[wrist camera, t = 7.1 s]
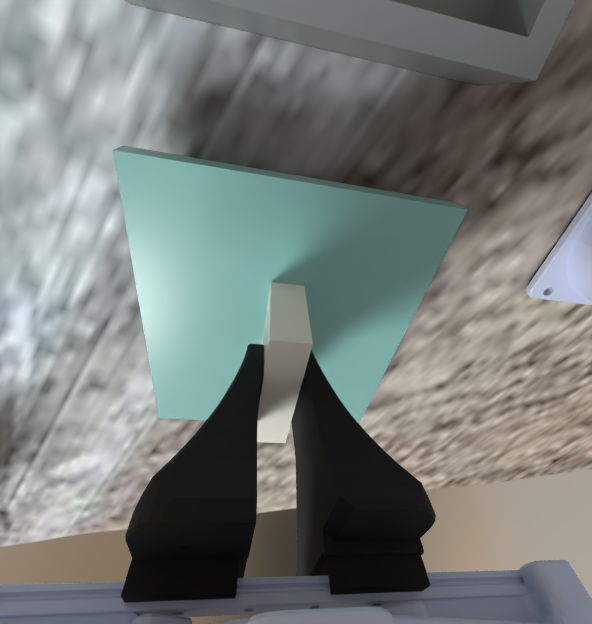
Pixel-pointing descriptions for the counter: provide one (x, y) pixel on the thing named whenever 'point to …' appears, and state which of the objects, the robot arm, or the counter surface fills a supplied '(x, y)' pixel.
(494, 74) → the tray
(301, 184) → the lid
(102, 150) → the counter surface
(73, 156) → the counter surface
